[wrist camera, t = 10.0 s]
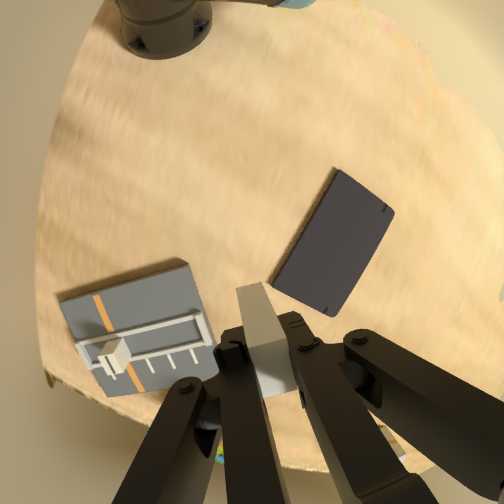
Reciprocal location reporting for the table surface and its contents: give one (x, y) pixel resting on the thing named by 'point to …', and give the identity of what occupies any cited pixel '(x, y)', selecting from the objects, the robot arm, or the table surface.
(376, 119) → the table surface
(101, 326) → the console
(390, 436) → the ink box
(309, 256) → the notebook
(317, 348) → the robot arm
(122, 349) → the fader tab
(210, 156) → the table surface
